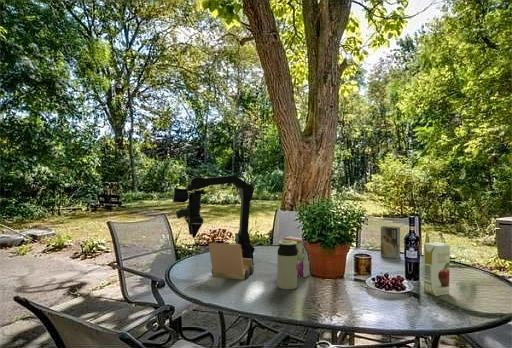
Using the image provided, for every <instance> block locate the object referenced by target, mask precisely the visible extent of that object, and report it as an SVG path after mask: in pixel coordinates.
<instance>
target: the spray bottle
mask: <svg viewBox="0 0 512 348" xmlns="http://www.w3.org/2000/svg"><path fill="white" fill-rule="evenodd" d="M283 240H290V241H296V242H297V244H296V248H297V250H298V264H297V276H300V277H299V278H301V277H305V276H307V275H309V276H310V260H309V261H308V256H307V253H306V251H305V248H304V243H303V240H302V237H296V236H291V235H290V236H285V237H283ZM305 278H306V277H305Z"/></svg>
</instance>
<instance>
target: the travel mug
mask: <svg viewBox="0 0 512 348" xmlns="http://www.w3.org/2000/svg"><path fill="white" fill-rule="evenodd" d="M277 243H278V248H277V272H276V273H277V276H276V277H277V283H276V286H277V288H279V289H282V290H289V289H290V290H295V289H297V288H298V277H297V264H298V250H297V248H296V244H297V242H296V241H290V240H284V239H283V240H279V241H278V242H277ZM290 290H289V291H290Z"/></svg>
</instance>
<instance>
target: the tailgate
mask: <svg viewBox="0 0 512 348" xmlns="http://www.w3.org/2000/svg"><path fill="white" fill-rule="evenodd" d="M208 248H209V249H208V251H209V255H210V256H209V257H210V263H211V272H212V271H213V272H215V273H226V274H238V275H244V267H243V258H242V249H241V245H237V244H236V243H235V244H234V243H223V242H222V243H219V242H218V243H217V242H209V243H208Z"/></svg>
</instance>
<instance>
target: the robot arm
mask: <svg viewBox="0 0 512 348" xmlns="http://www.w3.org/2000/svg"><path fill="white" fill-rule="evenodd" d="M224 184H233V186H234V187H236V189H238V191H239V198H240V199H239V200H240V214H239V215H240V216H239V228H238V229H239V230H238V232H235V233H234V243H235V244H237V245H241V249H242V258H248V259H252V266H254V265H255V263H254V251H255V250H256V248H255V247H254V246H253V245H252V244H251V239H250V233H249V219H250V209H251V207H250V206H251V201H252V198H253V196H254V191H255V188H254V186H253V185H252V184H250V183H247V182H245V181H244V180H243V179H241V178H240V177H239V176H238V175H236V174H230V175H223V176H215V177H214V176H213V177H203V176H202V177H199V176H193V177H191V178H190V180H189V183H188V184H187V186H186V187H185V188H178V187H174V188H173V193H172V203H180V204H184V203H186V202H188V204H187V206H186V207H185V208H181V209H178V210H175V215H176V218H177V219H178V220H179V219H181V218H184V220H185V222H186V223H187V226H188V233H189V234H188V235H190V236H191V237H192V238H193V239H196V236H197V234H198V233H199V232H200V231H199V230H200V229H201V228H202V225H203V224H204V218H203V217H202V216H201V209H202V204H201V203H202V195H206V192H205V191H204V188H208V187H209V186H217V185H224Z"/></svg>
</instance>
